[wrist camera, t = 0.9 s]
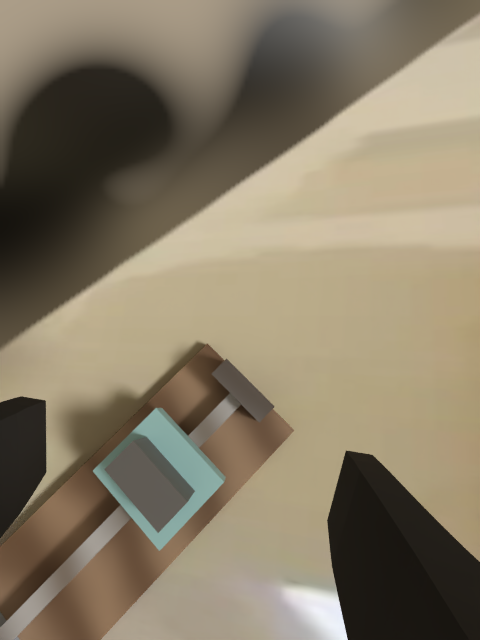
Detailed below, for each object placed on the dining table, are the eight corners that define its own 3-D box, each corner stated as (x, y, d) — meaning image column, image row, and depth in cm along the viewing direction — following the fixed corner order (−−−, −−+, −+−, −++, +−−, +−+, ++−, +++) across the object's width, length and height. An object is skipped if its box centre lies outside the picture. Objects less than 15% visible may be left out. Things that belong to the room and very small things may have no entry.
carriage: (165, 541, 26) (146, 571, 21) (102, 466, 27) (71, 479, 22) (225, 477, 27) (220, 492, 22) (162, 407, 28) (144, 407, 23)
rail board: (1, 743, 26) (-44, 804, 22) (-76, 624, 27) (-131, 661, 24) (293, 428, 30) (299, 431, 26) (209, 344, 32) (203, 335, 28)
